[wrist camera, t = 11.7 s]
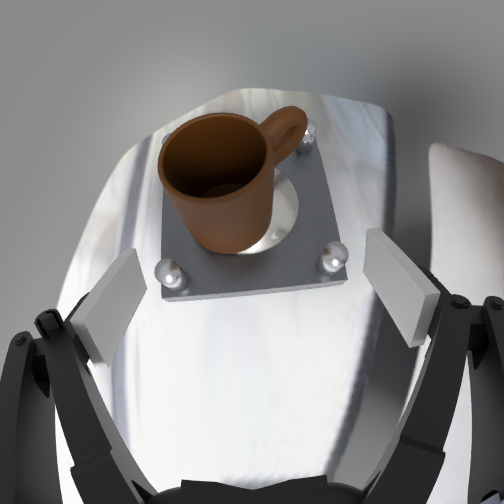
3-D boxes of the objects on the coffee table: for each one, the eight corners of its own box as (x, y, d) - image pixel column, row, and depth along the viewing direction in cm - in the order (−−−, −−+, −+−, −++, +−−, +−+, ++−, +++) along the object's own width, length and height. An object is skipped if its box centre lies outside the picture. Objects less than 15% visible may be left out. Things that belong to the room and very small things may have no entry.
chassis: (311, 145, 31) (317, 114, 26) (341, 284, 26) (357, 270, 21) (171, 160, 31) (158, 132, 26) (168, 301, 26) (148, 291, 21)
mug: (272, 145, 28) (272, 73, 19) (324, 194, 26) (347, 127, 17) (173, 212, 26) (136, 152, 17) (221, 274, 24) (196, 231, 15)
